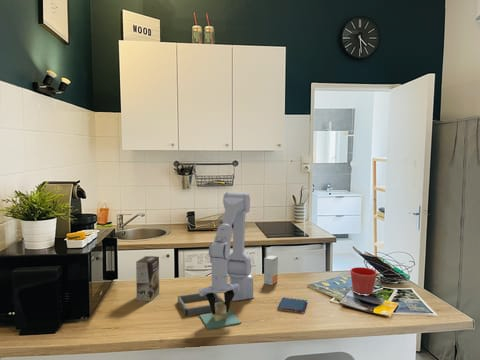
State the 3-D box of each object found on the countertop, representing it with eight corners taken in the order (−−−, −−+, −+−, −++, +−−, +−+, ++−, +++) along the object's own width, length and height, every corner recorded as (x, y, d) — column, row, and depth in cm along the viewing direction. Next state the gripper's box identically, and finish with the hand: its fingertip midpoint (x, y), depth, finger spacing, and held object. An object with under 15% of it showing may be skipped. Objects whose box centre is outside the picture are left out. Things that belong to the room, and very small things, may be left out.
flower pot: (378, 291, 160) (379, 269, 159) (372, 300, 151) (373, 276, 150) (354, 286, 166) (354, 265, 165) (346, 294, 156) (347, 272, 156)
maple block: (222, 314, 136) (222, 301, 136) (226, 319, 132) (226, 305, 132) (212, 316, 134) (212, 303, 134) (215, 321, 131) (215, 307, 130)
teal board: (230, 311, 140) (230, 309, 140) (240, 323, 130) (240, 322, 130) (199, 316, 136) (199, 315, 136) (208, 329, 126) (208, 328, 126)
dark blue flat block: (281, 301, 151) (281, 296, 151) (307, 304, 148) (307, 299, 148) (276, 311, 141) (276, 306, 141) (304, 315, 138) (304, 310, 138)
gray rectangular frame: (214, 296, 155) (214, 290, 154) (225, 309, 142) (225, 303, 142) (177, 302, 149) (177, 296, 149) (185, 316, 136) (185, 309, 136)
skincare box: (272, 285, 167) (272, 259, 166) (263, 283, 170) (263, 258, 169) (277, 281, 172) (278, 256, 172) (269, 279, 175) (269, 255, 174)
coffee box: (150, 301, 150) (150, 262, 148) (136, 300, 151) (135, 261, 150) (160, 293, 158) (159, 256, 157) (146, 292, 160) (145, 255, 158)
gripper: (203, 281, 125) (203, 320, 126) (242, 276, 131) (242, 313, 132) (197, 275, 132) (198, 311, 133) (235, 270, 137) (235, 305, 138)
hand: (219, 312), depth 133 cm, fingers open, 4 cm apart
